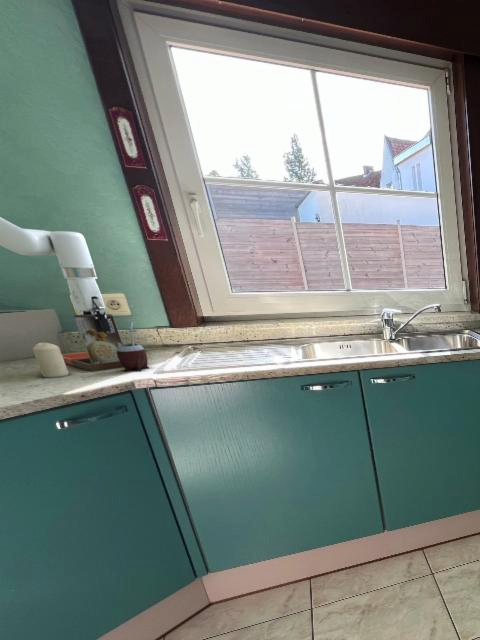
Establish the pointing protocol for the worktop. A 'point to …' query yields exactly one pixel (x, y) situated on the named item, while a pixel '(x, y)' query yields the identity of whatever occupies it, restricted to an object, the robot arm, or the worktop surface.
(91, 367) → the walnut tray
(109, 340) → the coffee box
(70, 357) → the terracotta tray
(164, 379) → the worktop surface
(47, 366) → the candle
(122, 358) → the mate gourd
